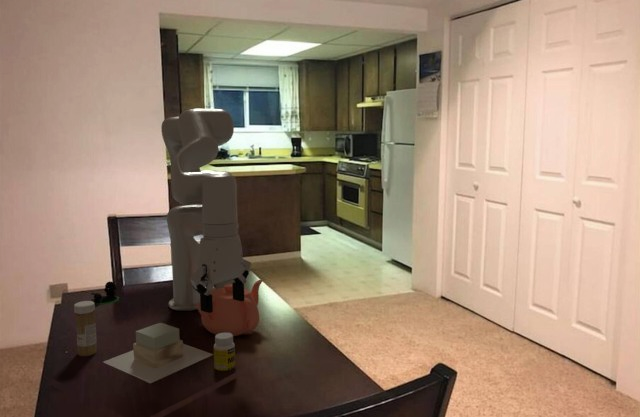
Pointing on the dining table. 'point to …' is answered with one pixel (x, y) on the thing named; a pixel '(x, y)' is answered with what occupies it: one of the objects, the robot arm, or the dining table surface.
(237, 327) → the teapot
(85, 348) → the sprinkles bottle
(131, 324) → the dining table surface
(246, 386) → the dining table surface
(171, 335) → the sage block
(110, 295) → the toy figurine
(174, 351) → the birch block
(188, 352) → the base plate
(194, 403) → the dining table surface
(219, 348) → the supplement bottle
